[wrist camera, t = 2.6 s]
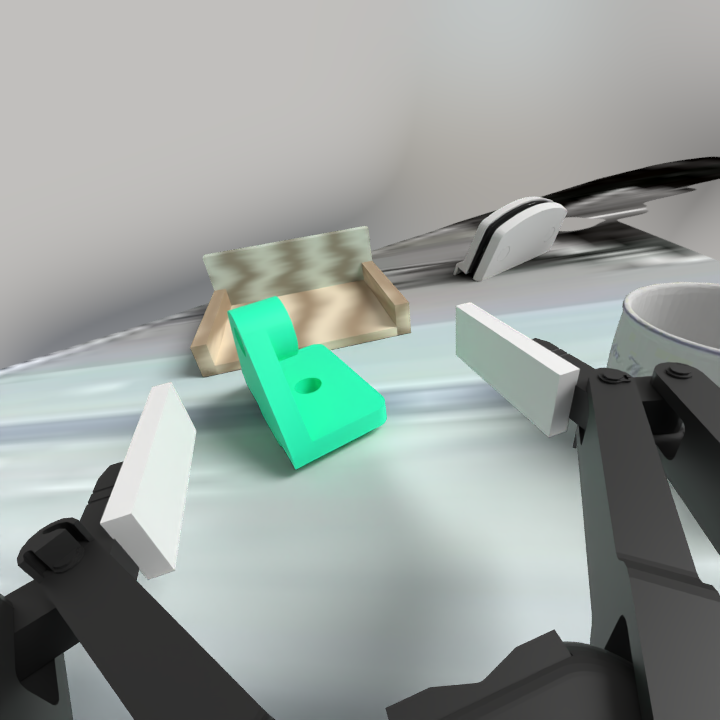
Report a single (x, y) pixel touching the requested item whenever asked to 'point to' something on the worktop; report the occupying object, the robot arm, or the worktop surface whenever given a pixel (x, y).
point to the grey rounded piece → (512, 237)
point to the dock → (302, 294)
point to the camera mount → (301, 385)
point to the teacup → (669, 329)
